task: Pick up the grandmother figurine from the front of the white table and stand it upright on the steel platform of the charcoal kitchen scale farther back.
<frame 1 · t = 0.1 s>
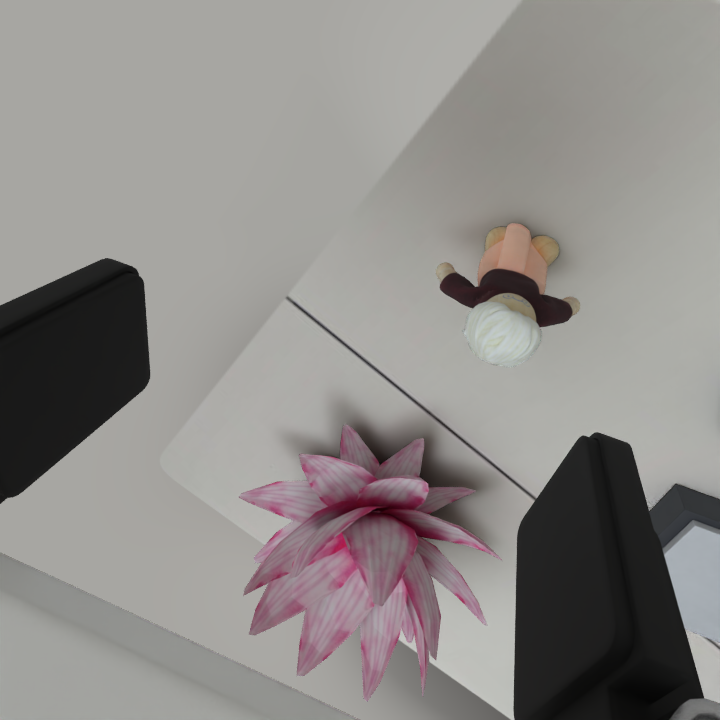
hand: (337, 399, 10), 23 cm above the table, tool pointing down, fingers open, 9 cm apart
grandmother figurine: (510, 248, 30), on the table
decorative flower: (387, 484, 44), on the table
scale: (706, 558, 37), on the table
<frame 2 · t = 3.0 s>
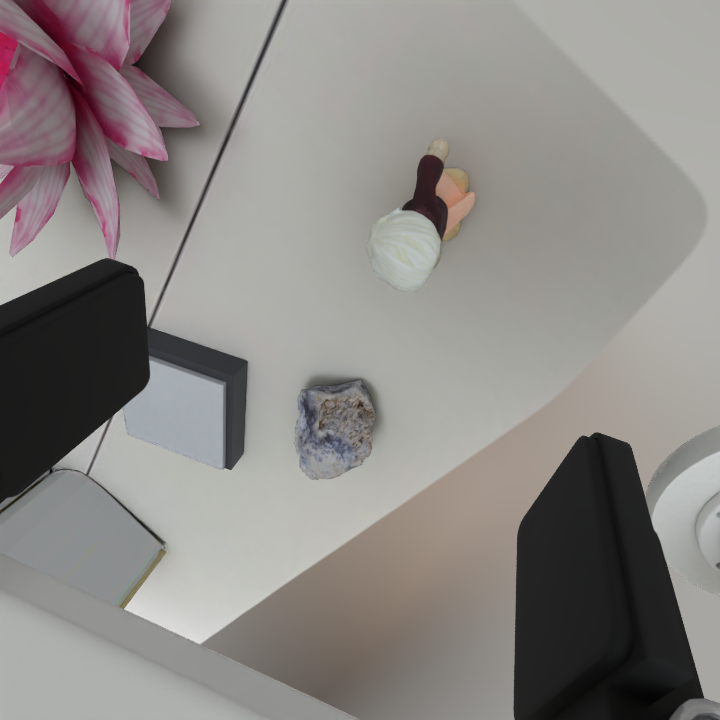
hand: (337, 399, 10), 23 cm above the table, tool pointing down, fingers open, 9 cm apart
grandmother figurine: (445, 194, 29), on the table
mineral specimen: (337, 417, 42), on the table
decorative flower: (100, 71, 32), on the table
book: (55, 469, 62), on the table
scale: (190, 391, 46), on the table
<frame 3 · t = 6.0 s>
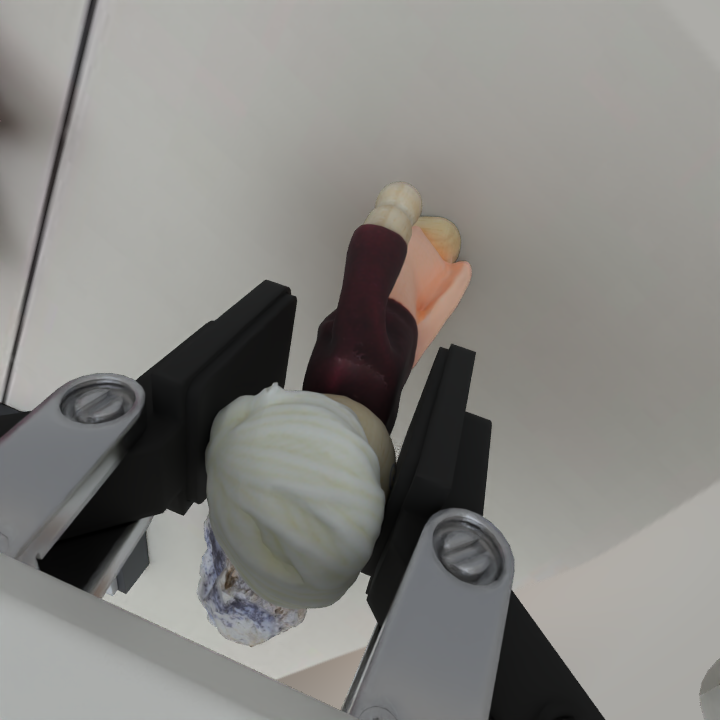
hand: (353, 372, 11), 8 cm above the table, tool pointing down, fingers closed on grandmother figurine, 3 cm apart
grandmother figurine: (420, 258, 17), on the table, touching gripper
mineral specimen: (267, 541, 29), on the table
scale: (70, 486, 33), on the table
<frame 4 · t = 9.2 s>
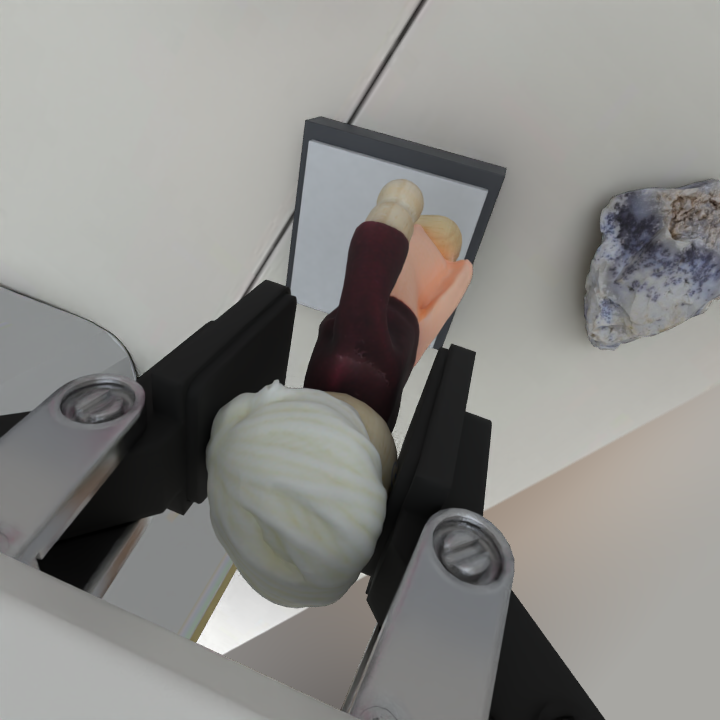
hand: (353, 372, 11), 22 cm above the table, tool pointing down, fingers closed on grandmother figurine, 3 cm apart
grandmother figurine: (421, 257, 17), point 15 cm above the table, touching gripper
mineral specimen: (632, 258, 28), on the table
book: (142, 382, 48), on the table
scale: (388, 234, 32), on the table
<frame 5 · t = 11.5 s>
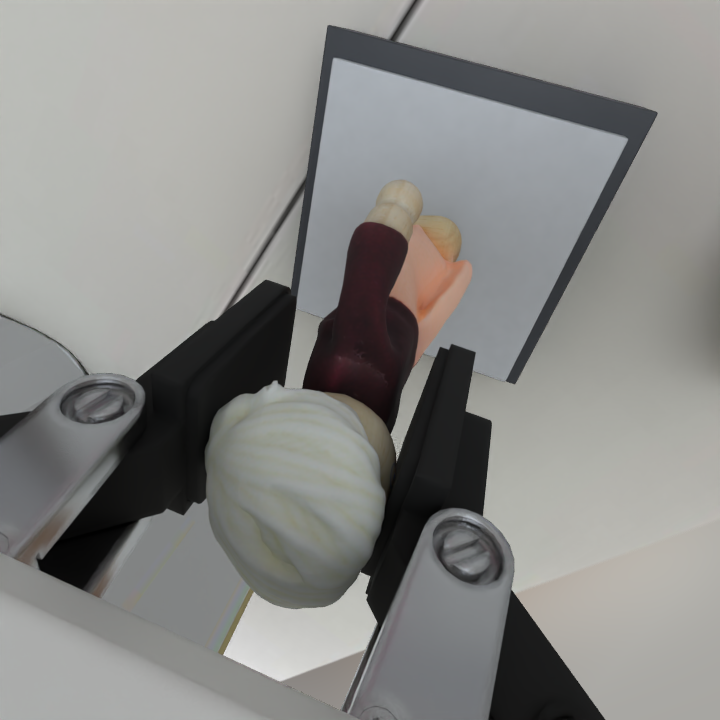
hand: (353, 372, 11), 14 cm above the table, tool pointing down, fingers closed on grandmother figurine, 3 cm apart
grandmother figurine: (420, 257, 17), point 6 cm above the table, touching gripper
book: (104, 406, 38), on the table
scale: (442, 214, 22), on the table
when the fingers open (11 cm above the table, at t = 12.7 s): grandmother figurine stays where it is, resting on scale.
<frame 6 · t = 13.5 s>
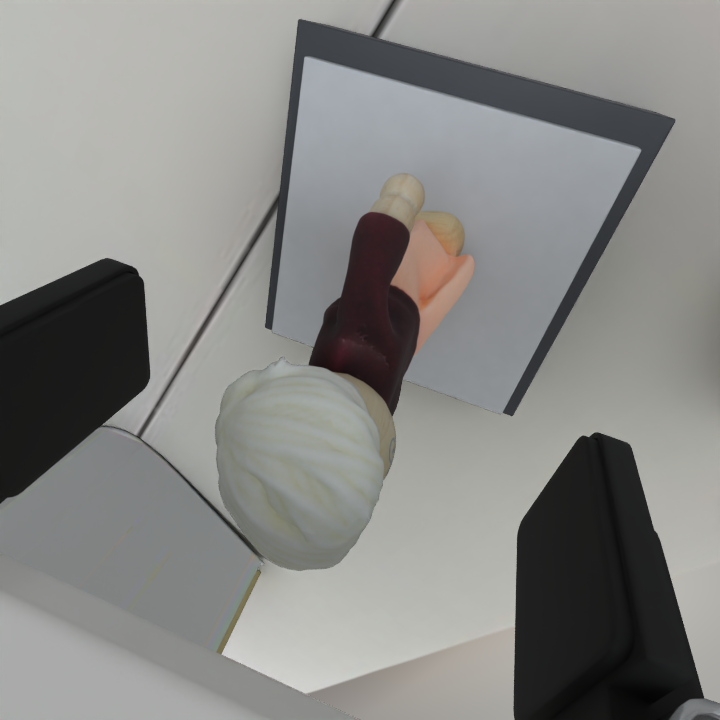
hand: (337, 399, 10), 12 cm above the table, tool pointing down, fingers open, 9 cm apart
grandmother figurine: (424, 252, 17), point 3 cm above the table, touching scale
book: (79, 426, 35), on the table
scale: (432, 229, 20), on the table
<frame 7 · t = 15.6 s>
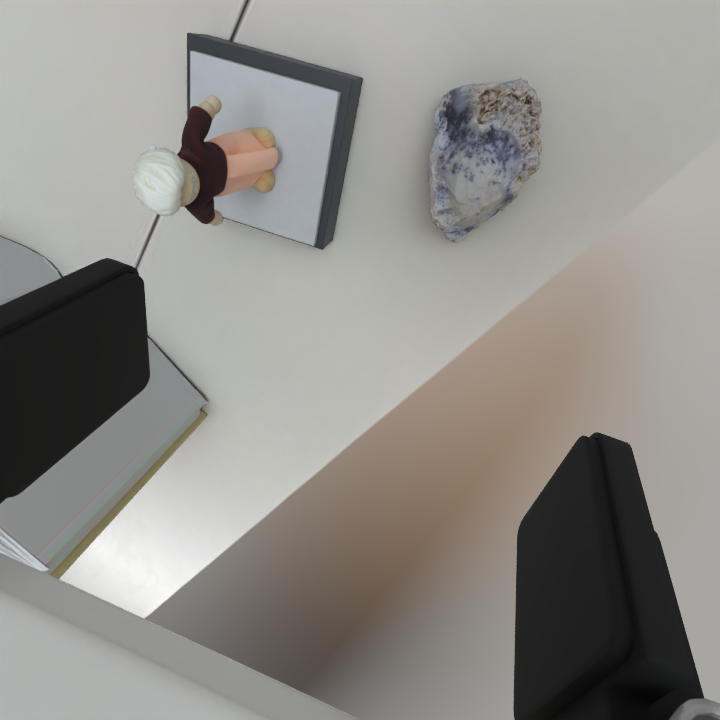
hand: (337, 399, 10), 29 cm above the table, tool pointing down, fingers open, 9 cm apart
grandmother figurine: (260, 151, 34), point 3 cm above the table, touching scale
mineral specimen: (473, 158, 33), on the table
book: (78, 307, 52), on the table
scale: (274, 145, 36), on the table
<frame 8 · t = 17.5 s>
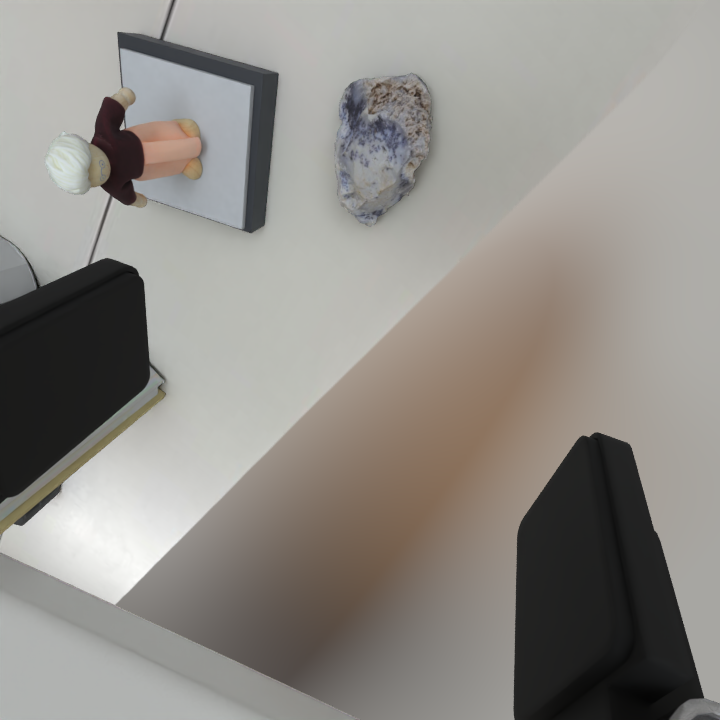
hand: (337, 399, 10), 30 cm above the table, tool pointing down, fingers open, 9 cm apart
grandmother figurine: (188, 140, 37), point 3 cm above the table, touching scale
mineral specimen: (382, 147, 36), on the table
book: (43, 290, 55), on the table
scale: (206, 136, 39), on the table
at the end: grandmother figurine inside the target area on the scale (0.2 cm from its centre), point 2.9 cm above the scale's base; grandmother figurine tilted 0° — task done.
